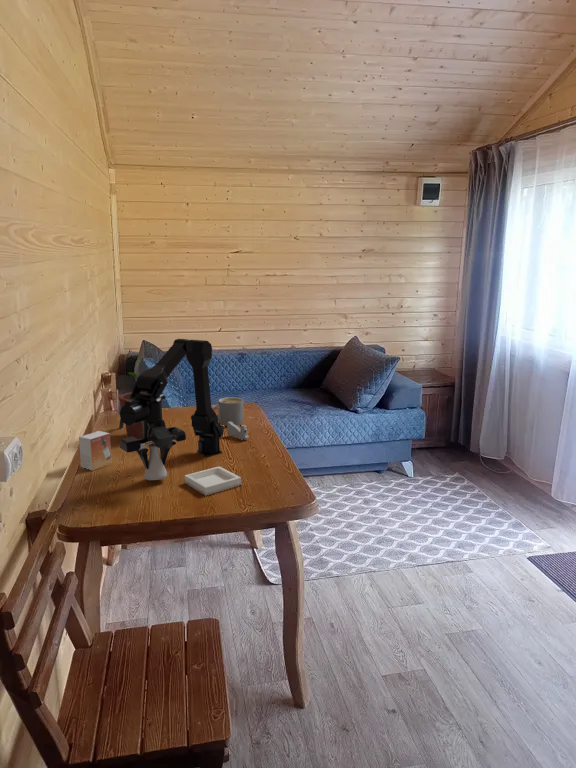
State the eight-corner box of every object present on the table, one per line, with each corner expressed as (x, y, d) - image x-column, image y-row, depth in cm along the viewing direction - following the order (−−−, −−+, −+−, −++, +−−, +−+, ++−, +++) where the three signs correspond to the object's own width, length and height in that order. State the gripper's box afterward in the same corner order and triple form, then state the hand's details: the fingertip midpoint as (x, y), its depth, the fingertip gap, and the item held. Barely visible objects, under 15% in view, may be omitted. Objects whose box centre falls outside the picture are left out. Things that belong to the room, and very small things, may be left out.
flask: (146, 482, 163) (144, 450, 161) (140, 474, 169) (138, 443, 167) (170, 478, 166) (169, 446, 164) (164, 470, 173) (162, 439, 170)
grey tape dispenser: (230, 435, 213) (249, 440, 206) (227, 436, 212) (246, 441, 205) (230, 421, 211) (249, 425, 205) (227, 422, 210) (246, 426, 204)
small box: (92, 471, 176) (89, 439, 174) (80, 468, 179) (78, 436, 177) (112, 463, 183) (110, 432, 180) (100, 460, 186) (98, 430, 183)
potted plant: (115, 445, 201) (110, 377, 196) (119, 428, 222) (115, 366, 217) (165, 441, 205) (162, 374, 200) (164, 425, 226) (162, 364, 221)
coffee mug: (244, 420, 233) (243, 397, 231) (243, 427, 223) (242, 403, 221) (212, 420, 232) (211, 397, 230) (209, 427, 223) (208, 403, 221)
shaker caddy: (219, 473, 174) (219, 466, 173) (241, 485, 165) (241, 477, 164) (185, 483, 166) (184, 475, 166) (205, 496, 157) (205, 487, 157)
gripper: (133, 428, 152) (137, 482, 155) (194, 416, 163) (196, 467, 167) (117, 419, 160) (120, 471, 164) (176, 409, 172) (178, 457, 175)
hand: (155, 466), depth 167 cm, fingers closed on flask, 5 cm apart
